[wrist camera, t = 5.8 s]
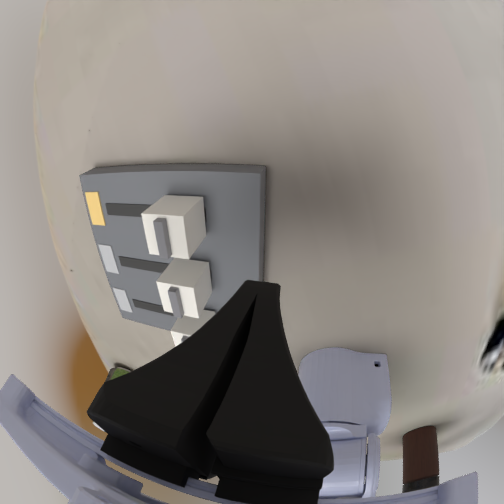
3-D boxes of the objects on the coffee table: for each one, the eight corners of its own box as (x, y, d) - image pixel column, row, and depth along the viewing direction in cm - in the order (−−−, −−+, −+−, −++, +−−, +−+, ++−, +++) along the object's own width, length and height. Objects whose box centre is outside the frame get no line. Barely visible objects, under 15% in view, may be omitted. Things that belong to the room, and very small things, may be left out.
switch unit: (265, 166, 17) (260, 174, 15) (261, 332, 26) (256, 349, 24) (94, 167, 20) (78, 175, 18) (131, 306, 28) (122, 318, 27)
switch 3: (215, 311, 22) (201, 343, 19) (217, 333, 24) (205, 363, 21) (184, 305, 23) (167, 335, 20) (189, 327, 24) (174, 356, 21)
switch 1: (203, 196, 17) (179, 220, 14) (206, 235, 18) (185, 264, 15) (164, 195, 17) (136, 217, 14) (170, 231, 19) (145, 258, 16)
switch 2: (208, 262, 19) (190, 293, 17) (212, 291, 21) (196, 323, 18) (174, 257, 20) (152, 285, 17) (180, 286, 21) (161, 315, 19)
